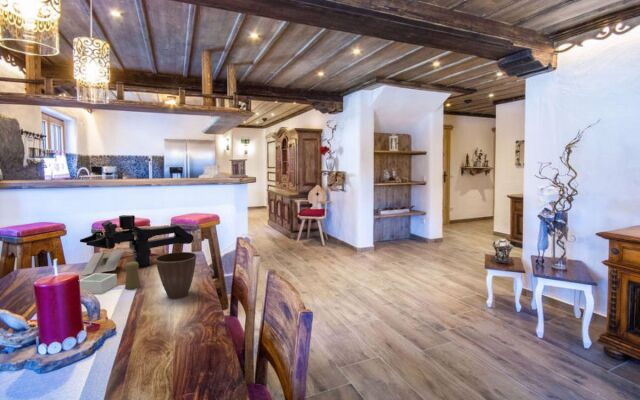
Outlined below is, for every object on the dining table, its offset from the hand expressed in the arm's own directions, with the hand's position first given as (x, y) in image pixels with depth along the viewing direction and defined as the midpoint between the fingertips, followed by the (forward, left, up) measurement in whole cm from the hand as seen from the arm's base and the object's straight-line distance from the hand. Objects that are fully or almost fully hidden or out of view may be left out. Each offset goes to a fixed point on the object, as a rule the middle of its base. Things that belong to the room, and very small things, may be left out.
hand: (83, 242), depth 158 cm
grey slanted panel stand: (-9, -5, -17) cm, 20 cm away
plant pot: (-17, +52, -17) cm, 57 cm away
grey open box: (+1, +20, -17) cm, 26 cm away
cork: (-9, +29, -17) cm, 35 cm away
